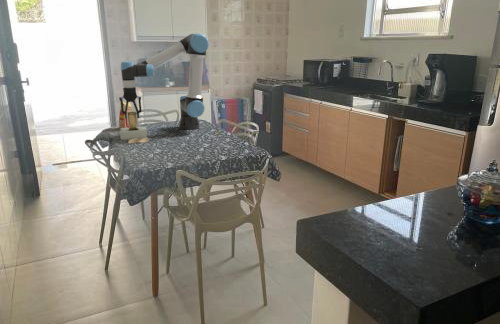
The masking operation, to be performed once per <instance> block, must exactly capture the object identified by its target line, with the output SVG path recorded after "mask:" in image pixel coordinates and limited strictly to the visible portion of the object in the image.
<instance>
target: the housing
mask: <svg viewBox="0 0 500 324" xmlns="http://www.w3.org/2000/svg"><path fill="white" fill-rule="evenodd" d="M119 130H120V131H119V135H120V136H119V137H120V140H121V141H124V140H129V139H135V138H148V132H147V126H137V130H133V131H130V129H129V128H121V129H119Z"/></svg>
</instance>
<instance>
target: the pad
mask: <svg viewBox="0 0 500 324" xmlns="http://www.w3.org/2000/svg"><path fill="white" fill-rule="evenodd" d="M149 141H150V139H149V137H147V138H135V139H128V145H131V143H132V144H142V143H143V144H145V143H149Z"/></svg>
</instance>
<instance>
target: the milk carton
mask: <svg viewBox="0 0 500 324" xmlns="http://www.w3.org/2000/svg"><path fill="white" fill-rule="evenodd" d="M131 103H132V102H128V108H127V113H128V112H134V110H133V107H132V104H131ZM125 108H126V101H124V100H123V109H124V111H125ZM119 128H120V129H119ZM121 128H129V124H128V123H127V119H125V114H124V113H122V112H121V107H120V108H119V118H118V129H119V130H121Z"/></svg>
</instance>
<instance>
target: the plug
mask: <svg viewBox="0 0 500 324" xmlns="http://www.w3.org/2000/svg"><path fill="white" fill-rule="evenodd" d="M136 113H137V112H136V111H133V112H128V119H129V129H130V131H133V130H137V127H138V124H137V122H136Z"/></svg>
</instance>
